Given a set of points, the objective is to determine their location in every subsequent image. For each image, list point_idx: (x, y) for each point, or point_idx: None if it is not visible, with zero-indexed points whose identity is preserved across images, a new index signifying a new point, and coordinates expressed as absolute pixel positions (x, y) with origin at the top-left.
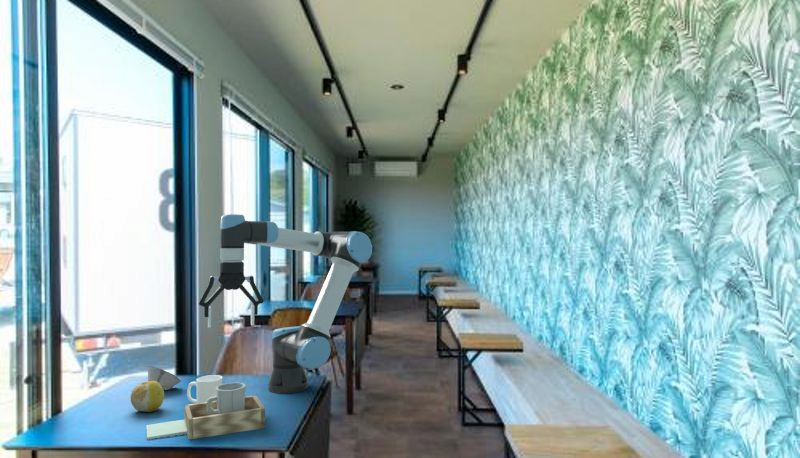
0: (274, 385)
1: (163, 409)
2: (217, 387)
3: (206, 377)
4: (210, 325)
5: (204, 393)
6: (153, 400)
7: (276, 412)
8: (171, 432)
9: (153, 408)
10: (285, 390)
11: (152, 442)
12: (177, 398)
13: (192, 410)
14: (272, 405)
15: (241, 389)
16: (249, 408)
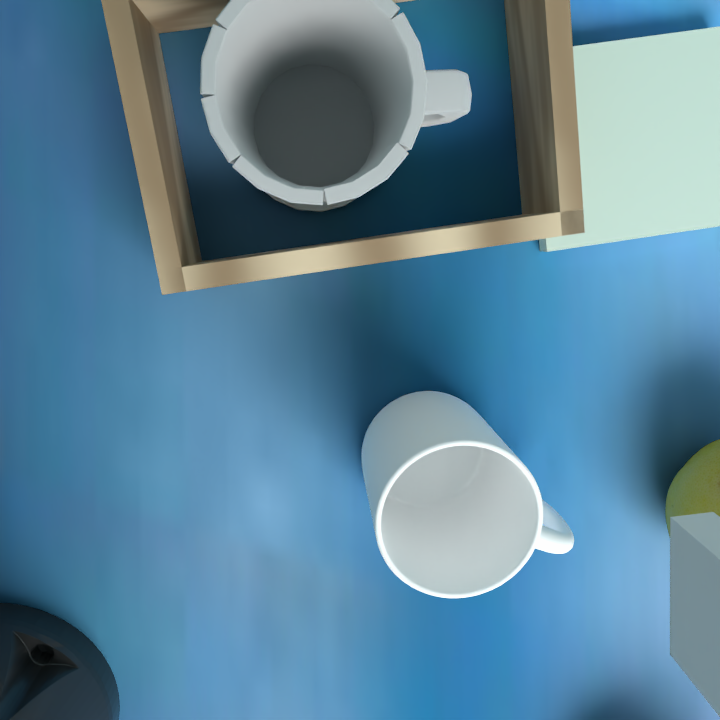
0: (70, 661)
1: (642, 501)
2: (413, 93)
3: (476, 584)
4: (702, 536)
5: (473, 420)
6: None
7: (69, 268)
8: (611, 58)
9: (703, 447)
10: (14, 611)
11: (685, 12)
12: (580, 654)
13: (529, 215)
14: (93, 397)
15: (232, 2)
16: (212, 260)
